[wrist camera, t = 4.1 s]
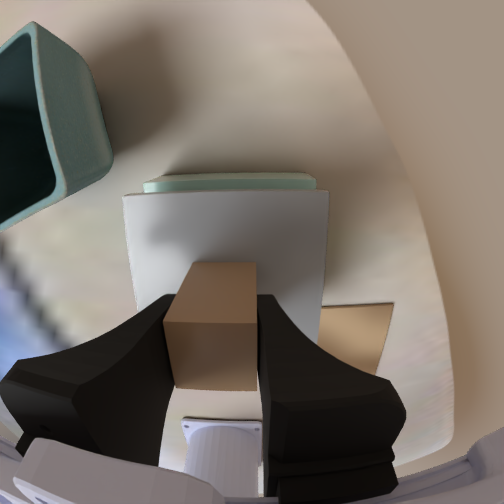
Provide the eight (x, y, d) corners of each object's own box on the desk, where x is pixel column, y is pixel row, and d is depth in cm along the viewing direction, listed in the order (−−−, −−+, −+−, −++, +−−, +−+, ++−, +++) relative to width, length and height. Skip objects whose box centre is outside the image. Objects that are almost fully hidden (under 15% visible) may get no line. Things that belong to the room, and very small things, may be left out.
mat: (367, 392, 25) (368, 394, 25) (262, 400, 25) (262, 402, 25) (392, 303, 21) (393, 304, 21) (264, 308, 21) (264, 310, 21)
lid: (311, 355, 16) (331, 436, 10) (153, 353, 16) (120, 428, 10) (325, 189, 13) (373, 217, 8) (128, 193, 13) (58, 223, 8)
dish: (299, 301, 21) (306, 329, 18) (174, 301, 21) (162, 328, 18) (305, 172, 18) (316, 179, 15) (162, 175, 18) (143, 183, 15)
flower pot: (23, 110, 16) (-62, 113, 8) (114, 54, 15) (34, 15, 7) (50, 212, 19) (-32, 254, 11) (146, 170, 18) (69, 196, 10)
